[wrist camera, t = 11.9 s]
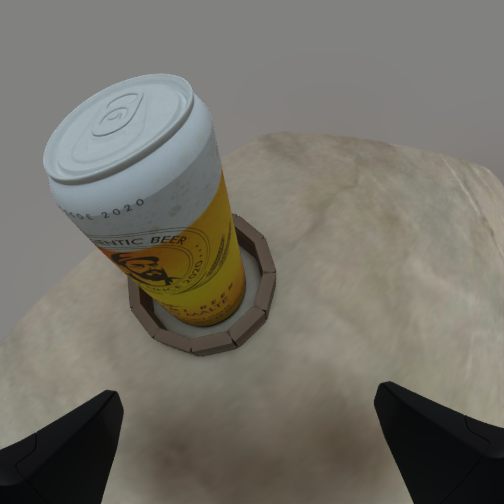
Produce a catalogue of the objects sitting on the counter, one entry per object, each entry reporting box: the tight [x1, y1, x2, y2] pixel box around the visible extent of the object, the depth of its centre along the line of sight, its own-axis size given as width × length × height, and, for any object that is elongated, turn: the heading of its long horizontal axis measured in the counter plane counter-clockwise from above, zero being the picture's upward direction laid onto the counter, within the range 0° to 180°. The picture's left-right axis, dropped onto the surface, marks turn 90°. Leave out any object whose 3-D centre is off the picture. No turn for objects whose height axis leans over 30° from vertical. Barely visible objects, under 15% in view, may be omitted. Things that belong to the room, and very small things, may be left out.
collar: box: [128, 214, 276, 356], centre depth 19 cm, size 10×10×2 cm
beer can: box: [43, 74, 246, 326], centre depth 14 cm, size 6×6×15 cm
